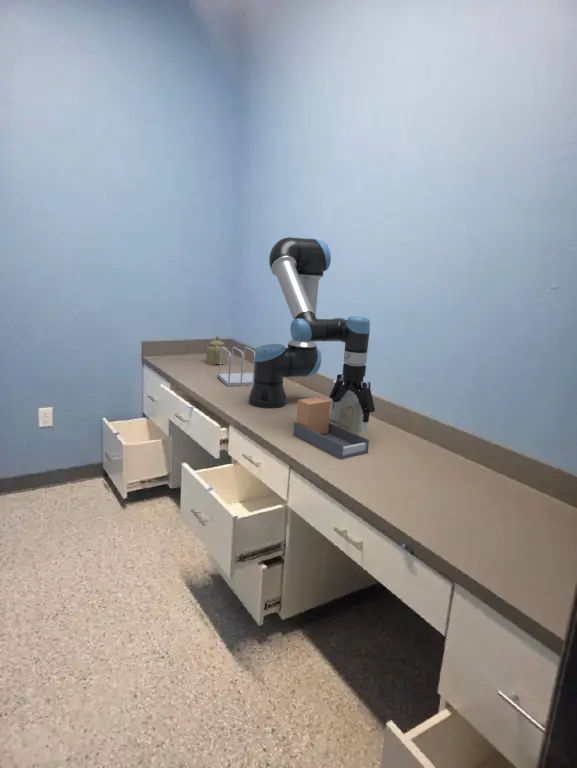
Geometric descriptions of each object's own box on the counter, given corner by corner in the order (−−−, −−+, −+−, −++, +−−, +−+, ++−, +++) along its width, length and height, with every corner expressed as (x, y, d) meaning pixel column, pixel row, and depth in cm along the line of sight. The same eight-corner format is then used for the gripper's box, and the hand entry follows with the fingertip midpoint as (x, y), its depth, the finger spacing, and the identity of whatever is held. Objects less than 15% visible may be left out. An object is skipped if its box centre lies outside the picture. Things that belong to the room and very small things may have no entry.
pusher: (295, 431, 176) (297, 399, 174) (317, 427, 182) (319, 396, 179) (306, 436, 172) (309, 404, 169) (328, 432, 177) (330, 401, 174)
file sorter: (227, 386, 234) (228, 352, 230) (217, 377, 249) (218, 345, 246) (279, 384, 243) (281, 351, 240) (266, 376, 259) (268, 344, 255)
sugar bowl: (234, 365, 277) (235, 337, 274) (215, 367, 271) (216, 338, 267) (221, 360, 289) (221, 333, 285) (202, 361, 283) (203, 334, 279)
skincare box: (337, 432, 181) (340, 398, 178) (347, 430, 184) (350, 397, 181) (349, 438, 176) (352, 403, 173) (359, 436, 179) (362, 401, 176)
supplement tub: (361, 422, 194) (364, 383, 190) (341, 425, 189) (344, 386, 185) (344, 415, 202) (347, 377, 198) (324, 418, 197) (327, 379, 193)
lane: (293, 434, 176) (294, 422, 175) (319, 430, 182) (320, 418, 181) (340, 459, 157) (342, 445, 156) (367, 452, 164) (369, 439, 163)
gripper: (322, 357, 182) (317, 416, 187) (373, 372, 162) (366, 437, 167) (338, 356, 186) (334, 414, 191) (390, 370, 167) (383, 434, 172)
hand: (349, 425), depth 179 cm, fingers open, 12 cm apart
